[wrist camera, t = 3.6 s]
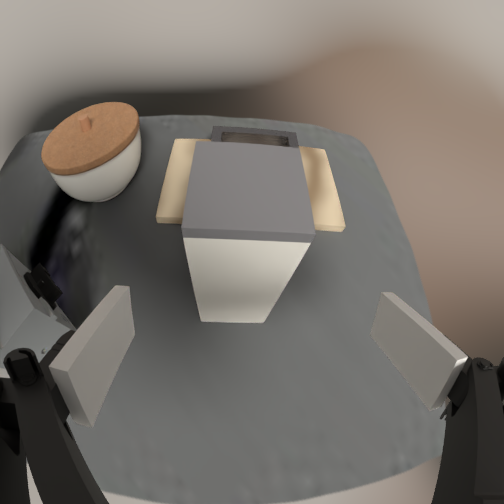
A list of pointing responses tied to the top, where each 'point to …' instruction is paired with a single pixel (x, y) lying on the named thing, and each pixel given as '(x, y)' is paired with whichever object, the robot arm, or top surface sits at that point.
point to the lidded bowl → (95, 151)
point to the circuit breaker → (28, 309)
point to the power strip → (244, 227)
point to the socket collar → (254, 136)
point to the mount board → (316, 174)
